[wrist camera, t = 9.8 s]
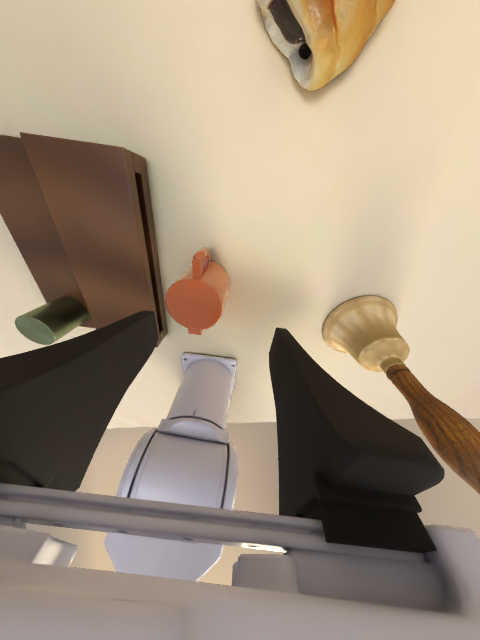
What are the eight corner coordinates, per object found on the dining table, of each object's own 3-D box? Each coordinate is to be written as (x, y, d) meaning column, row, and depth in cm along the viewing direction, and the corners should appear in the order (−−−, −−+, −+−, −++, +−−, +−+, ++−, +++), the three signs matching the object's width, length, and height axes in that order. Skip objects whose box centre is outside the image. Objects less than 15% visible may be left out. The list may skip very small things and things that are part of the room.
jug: (227, 308, 22) (220, 338, 16) (188, 302, 21) (168, 331, 16) (233, 247, 18) (225, 262, 13) (185, 240, 18) (159, 253, 13)
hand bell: (347, 360, 25) (459, 539, 11) (308, 328, 22) (392, 508, 9) (409, 323, 21) (683, 523, 8) (370, 280, 19) (675, 462, 5)
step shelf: (167, 332, 24) (157, 347, 22) (64, 319, 24) (41, 332, 21) (145, 157, 15) (122, 146, 12) (-28, 132, 14) (-88, 116, 12)
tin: (92, 323, 23) (60, 346, 19) (64, 320, 23) (26, 342, 19) (82, 298, 21) (44, 318, 17) (51, 294, 21) (6, 313, 17)
